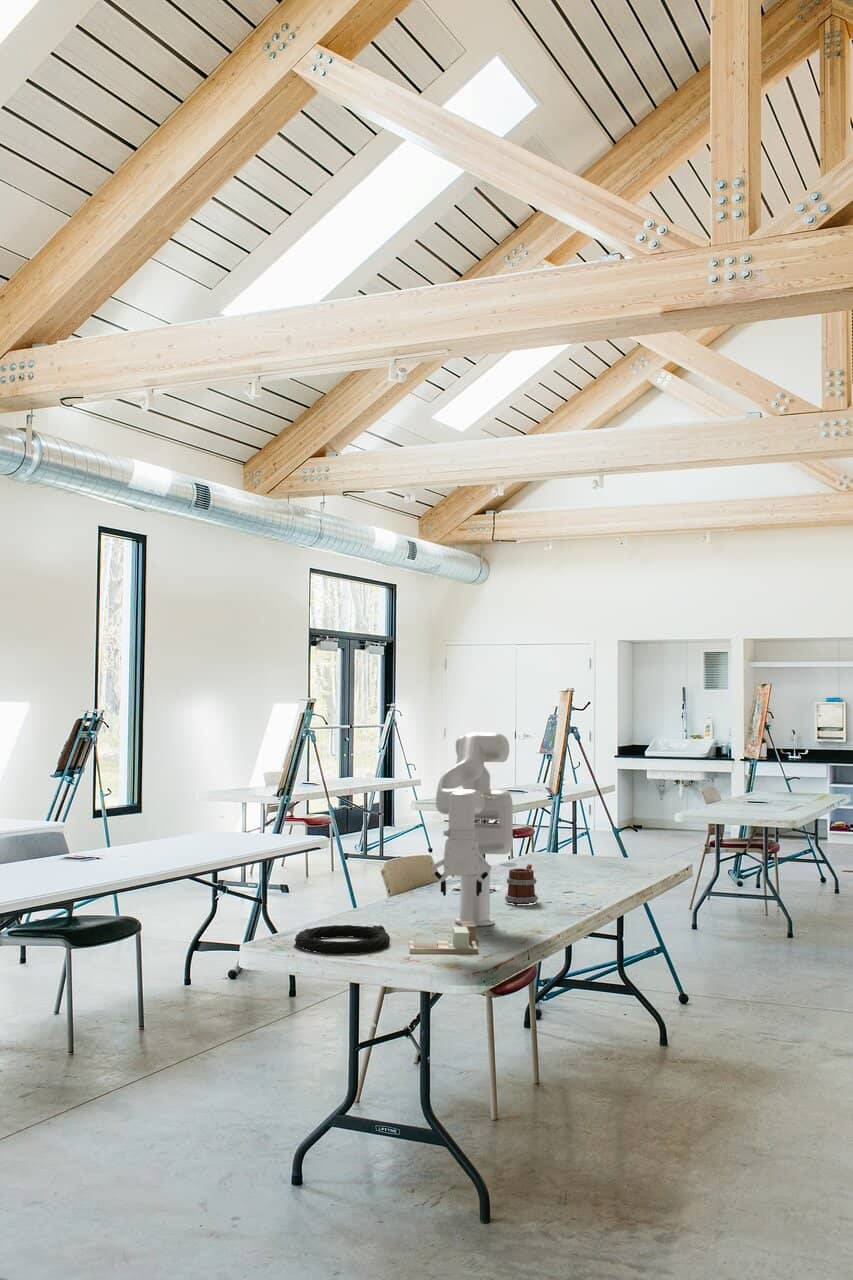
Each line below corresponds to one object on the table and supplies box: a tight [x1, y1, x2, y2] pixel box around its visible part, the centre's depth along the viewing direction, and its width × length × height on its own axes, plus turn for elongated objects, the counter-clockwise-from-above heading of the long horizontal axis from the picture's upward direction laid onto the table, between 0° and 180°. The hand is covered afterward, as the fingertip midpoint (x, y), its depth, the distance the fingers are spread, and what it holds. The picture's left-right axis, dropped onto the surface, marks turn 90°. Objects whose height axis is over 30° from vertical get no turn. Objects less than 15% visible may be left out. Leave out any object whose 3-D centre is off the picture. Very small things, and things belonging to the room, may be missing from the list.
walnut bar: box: [459, 921, 477, 944], centre depth 328 cm, size 9×4×5 cm, turn 2°
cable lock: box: [294, 924, 391, 955], centre depth 320 cm, size 28×4×30 cm
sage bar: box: [452, 926, 470, 948], centre depth 316 cm, size 9×4×5 cm, turn 3°
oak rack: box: [408, 938, 479, 954], centre depth 315 cm, size 13×19×1 cm
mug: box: [504, 864, 539, 904], centre depth 396 cm, size 12×14×15 cm
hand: (461, 895), depth 317 cm, fingers open, 9 cm apart
